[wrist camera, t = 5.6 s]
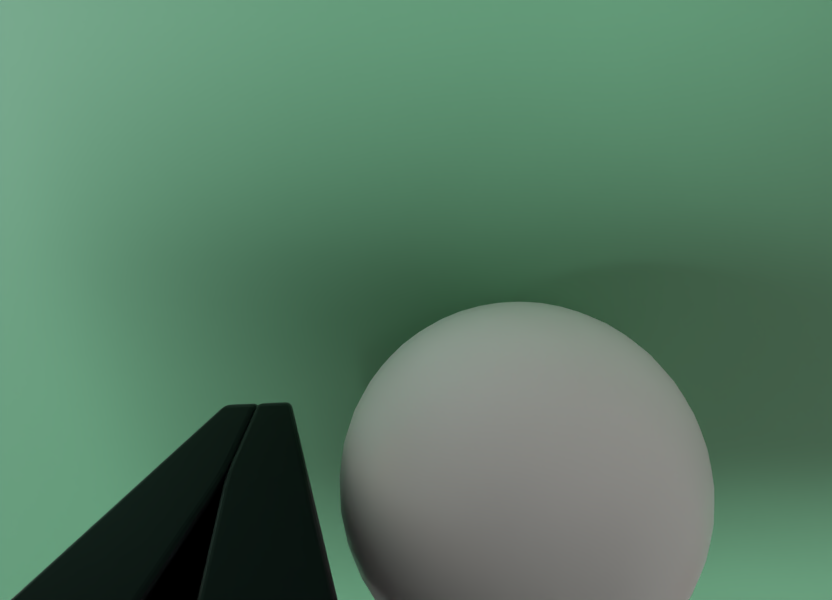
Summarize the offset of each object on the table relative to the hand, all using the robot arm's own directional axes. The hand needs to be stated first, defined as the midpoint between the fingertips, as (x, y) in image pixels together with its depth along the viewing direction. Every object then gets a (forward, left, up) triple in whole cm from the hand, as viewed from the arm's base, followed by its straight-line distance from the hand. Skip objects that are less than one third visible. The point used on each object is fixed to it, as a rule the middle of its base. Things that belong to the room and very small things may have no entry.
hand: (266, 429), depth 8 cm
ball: (0, -3, -1) cm, 3 cm away
